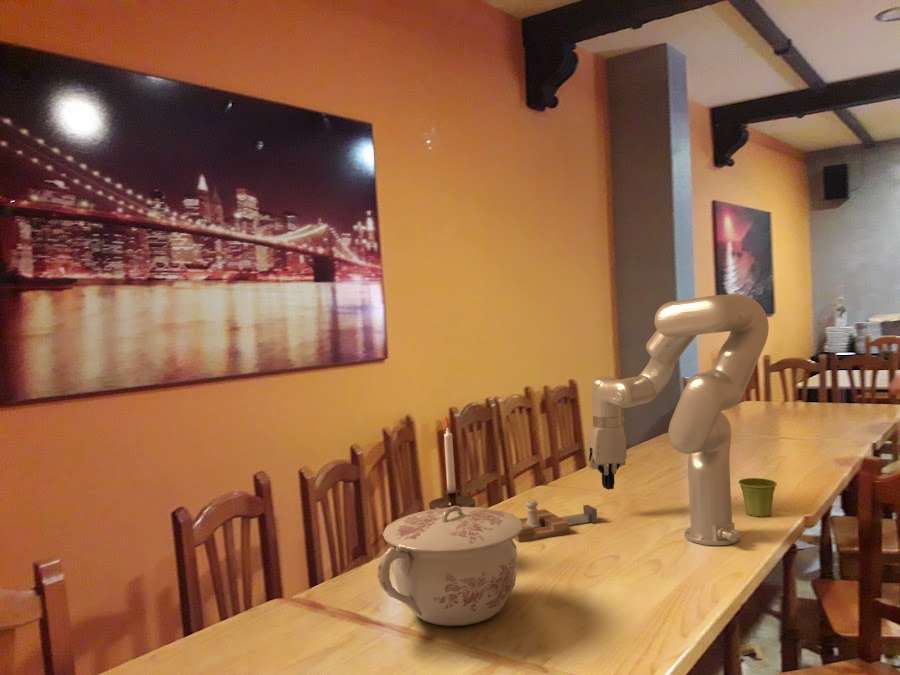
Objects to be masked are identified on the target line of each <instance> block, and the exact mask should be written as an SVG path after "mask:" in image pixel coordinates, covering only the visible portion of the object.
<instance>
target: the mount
mask: <svg viewBox="0 0 900 675" xmlns="http://www.w3.org/2000/svg"><path fill="white" fill-rule="evenodd" d="M511 514H512V513H511ZM512 515H514V514H512ZM537 517H538V520H539V522H540V523H541V528H535V529H533V527H531V526H530V525H528V524H527V523H526V521H527V517H522V518H519V517H517V518H518V519H519V520H521V521H522V523H523V530H522V531H521V532H520V533H519V535H518V536H517V537H516V538H514V539H513V540H515V541H516V542H518V543H523V542H528V541H534V540H541V539H546V538H552V537H559V536H565V535H569V534H570V532H569V529H570V528H569V525H568V522H567V521H565V520H563V519H561V518H560V517H561V516H558V515H556V514H554V513H553V512H551V511H548V509H545V508H543V509H537ZM542 526H543V527H542Z"/></svg>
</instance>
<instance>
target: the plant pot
mask: <svg viewBox="0 0 900 675" xmlns="http://www.w3.org/2000/svg"><path fill="white" fill-rule="evenodd" d="M738 484H739V485H740V489H741V491H742V496H743V497H742V498H743V503H744V508H745V514H747V516H750V515H751V516H753V517H755V516H760V517H759V518H764V517H763V516H766V517H769V516H768V515H770V516H772V510H773V501H774V492H775V490H776V487H777V485H778V483H777V482H776V481H774V480H772V479H767V478H758V477H757V478H756V477H748V478H742V479H740V480H738ZM761 516H762V517H761Z"/></svg>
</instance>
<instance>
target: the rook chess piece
mask: <svg viewBox="0 0 900 675" xmlns="http://www.w3.org/2000/svg"><path fill="white" fill-rule="evenodd" d="M538 505H539V503H538V502H537V499H534V498H533V499H527V500H526V503H525V506H526V508H527V509H526V512H527V517H526V518H527V521H526V523H527V524H528V525H530V526H531V527H533V529H535V528H541V523H540V522H539V520H538V517H537V510H538V509H537V506H538Z"/></svg>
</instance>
